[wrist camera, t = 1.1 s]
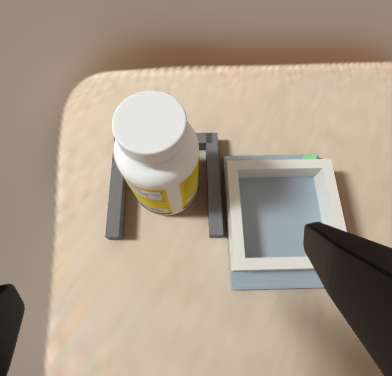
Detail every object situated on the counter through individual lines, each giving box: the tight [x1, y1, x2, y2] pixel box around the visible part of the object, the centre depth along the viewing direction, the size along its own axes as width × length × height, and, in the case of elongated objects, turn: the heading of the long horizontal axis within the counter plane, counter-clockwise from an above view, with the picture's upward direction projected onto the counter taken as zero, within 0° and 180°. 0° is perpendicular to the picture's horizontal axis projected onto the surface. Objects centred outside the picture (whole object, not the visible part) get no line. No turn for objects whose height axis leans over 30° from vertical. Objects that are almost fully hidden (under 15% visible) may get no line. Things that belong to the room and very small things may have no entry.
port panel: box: [223, 155, 347, 290], centre depth 21 cm, size 11×8×2 cm
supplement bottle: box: [112, 91, 199, 215], centre depth 19 cm, size 5×5×10 cm
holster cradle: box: [105, 133, 223, 240], centre depth 23 cm, size 9×9×1 cm
